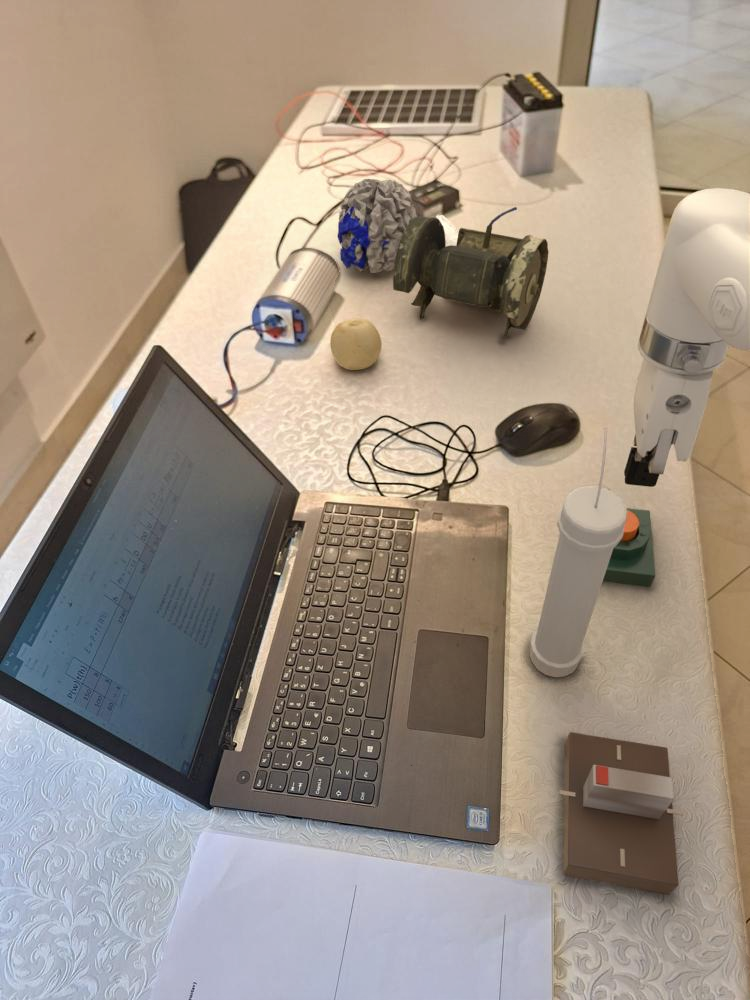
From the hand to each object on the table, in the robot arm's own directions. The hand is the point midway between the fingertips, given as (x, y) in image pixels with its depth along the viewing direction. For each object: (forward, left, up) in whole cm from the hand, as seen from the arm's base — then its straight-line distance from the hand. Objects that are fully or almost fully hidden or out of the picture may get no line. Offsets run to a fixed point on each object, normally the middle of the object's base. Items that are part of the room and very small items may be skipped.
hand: (639, 480), depth 78 cm
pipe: (-11, +13, -13) cm, 21 cm away
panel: (-28, +15, -12) cm, 34 cm away
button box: (0, 0, -12) cm, 12 cm away
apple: (+46, +20, -13) cm, 52 cm away
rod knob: (-28, +15, -9) cm, 33 cm away
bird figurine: (+73, -5, -13) cm, 75 cm away
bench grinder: (+52, -2, -13) cm, 54 cm away
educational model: (+76, +8, -13) cm, 78 cm away
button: (0, 0, -9) cm, 9 cm away
